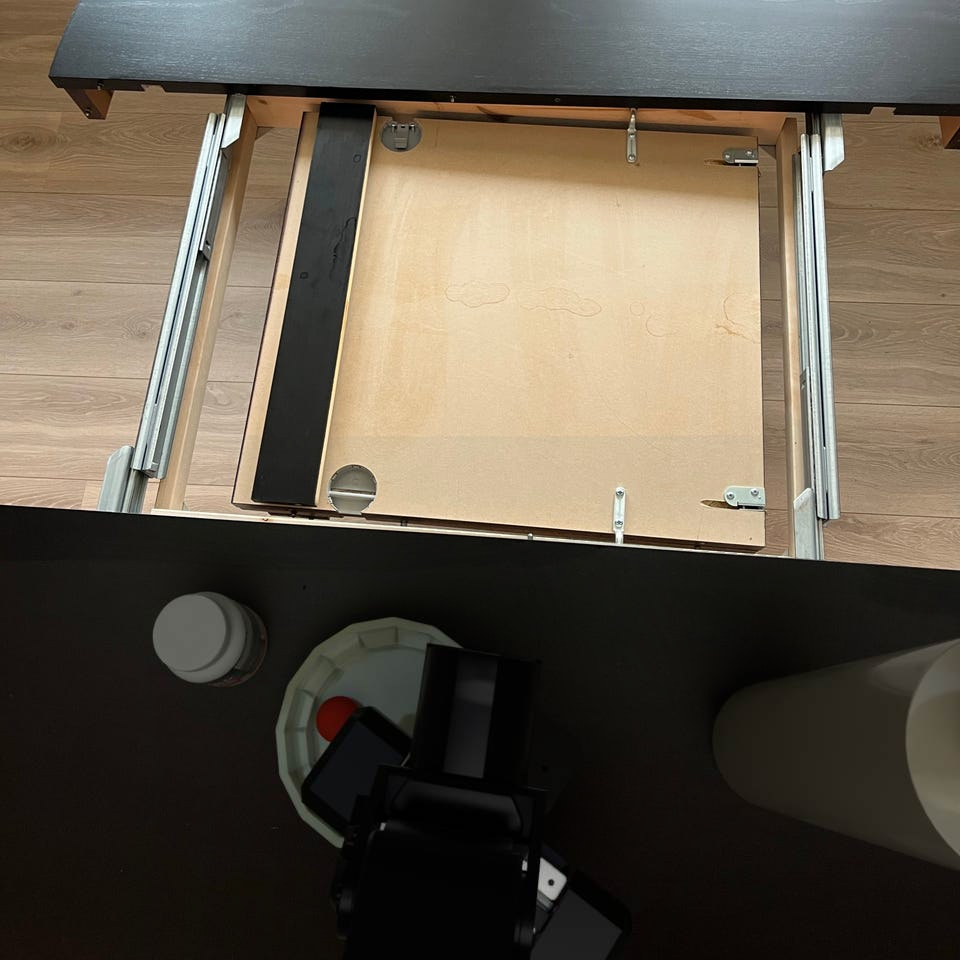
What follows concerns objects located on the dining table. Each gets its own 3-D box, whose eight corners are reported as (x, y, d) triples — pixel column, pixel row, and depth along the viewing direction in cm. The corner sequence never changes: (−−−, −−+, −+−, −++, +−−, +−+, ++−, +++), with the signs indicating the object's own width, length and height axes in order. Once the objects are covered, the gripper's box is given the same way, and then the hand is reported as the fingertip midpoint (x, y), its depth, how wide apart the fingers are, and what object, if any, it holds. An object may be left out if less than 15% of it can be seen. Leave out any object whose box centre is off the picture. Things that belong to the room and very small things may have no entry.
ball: (357, 748, 72) (350, 748, 69) (315, 737, 72) (306, 737, 69) (369, 702, 73) (362, 701, 70) (327, 691, 73) (319, 690, 70)
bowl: (472, 872, 69) (468, 882, 65) (267, 817, 71) (248, 823, 66) (518, 651, 74) (517, 646, 70) (325, 605, 76) (311, 597, 71)
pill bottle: (183, 682, 75) (133, 675, 65) (199, 599, 77) (153, 580, 67) (262, 691, 74) (223, 685, 65) (276, 607, 76) (241, 590, 67)
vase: (825, 823, 69) (1295, 968, 27) (703, 793, 70) (968, 886, 28) (838, 697, 72) (1284, 644, 29) (721, 670, 73) (986, 580, 30)
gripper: (709, 848, 51) (666, 818, 66) (403, 616, 56) (427, 636, 70) (580, 1067, 48) (566, 985, 63) (267, 805, 53) (322, 785, 67)
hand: (469, 837), depth 66 cm, fingers open, 3 cm apart
